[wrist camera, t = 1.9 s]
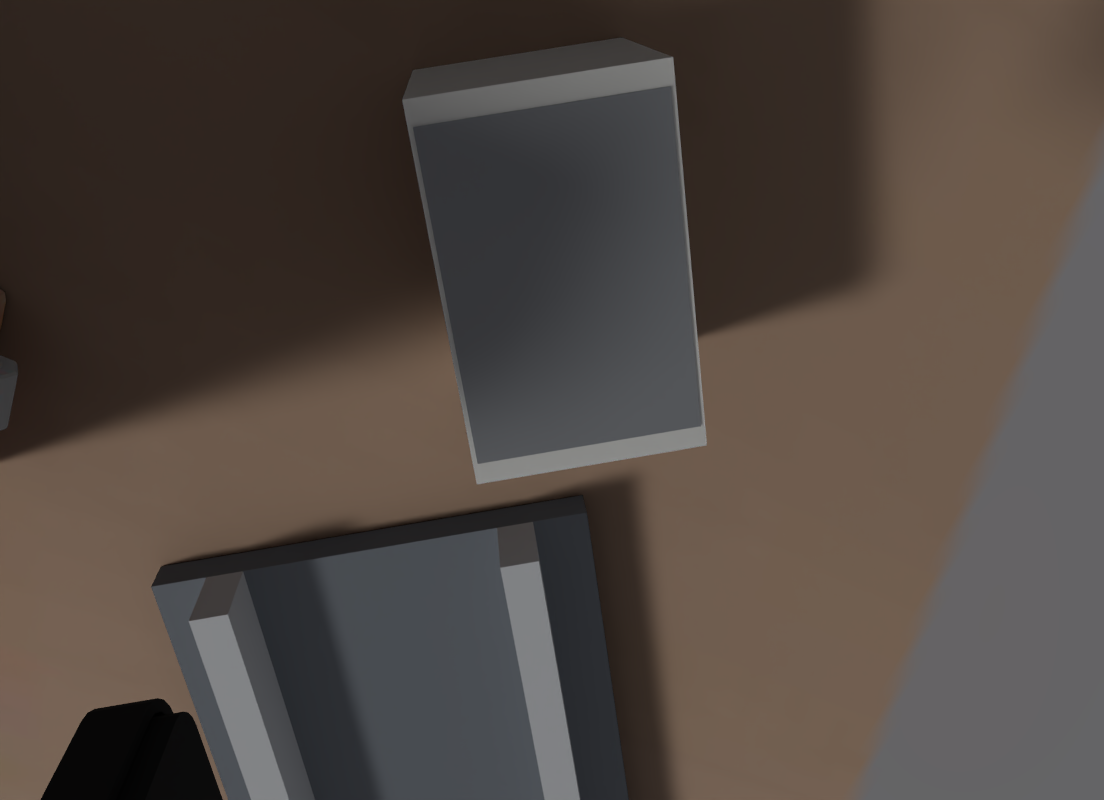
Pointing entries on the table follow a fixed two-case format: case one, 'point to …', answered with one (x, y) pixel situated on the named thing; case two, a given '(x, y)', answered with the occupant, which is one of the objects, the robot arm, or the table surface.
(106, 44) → the table surface
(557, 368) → the block
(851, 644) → the table surface
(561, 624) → the grey rail base plate
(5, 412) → the orange upright battery pack
